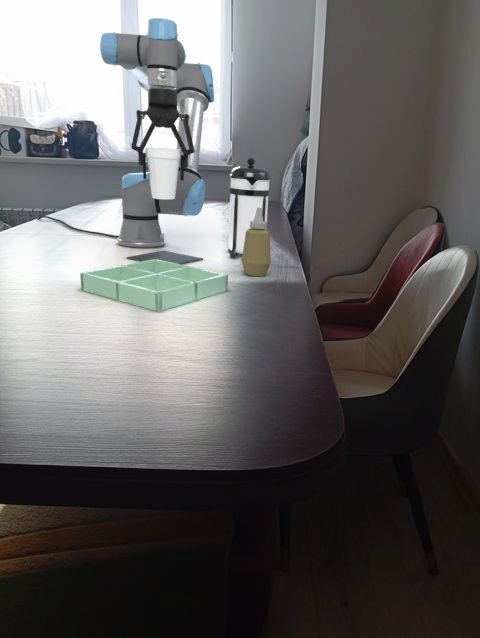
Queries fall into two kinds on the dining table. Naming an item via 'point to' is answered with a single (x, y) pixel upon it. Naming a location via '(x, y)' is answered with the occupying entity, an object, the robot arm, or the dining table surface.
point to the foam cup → (163, 171)
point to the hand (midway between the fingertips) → (163, 179)
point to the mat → (166, 257)
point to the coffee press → (246, 202)
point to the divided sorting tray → (154, 283)
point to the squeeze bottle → (257, 247)
